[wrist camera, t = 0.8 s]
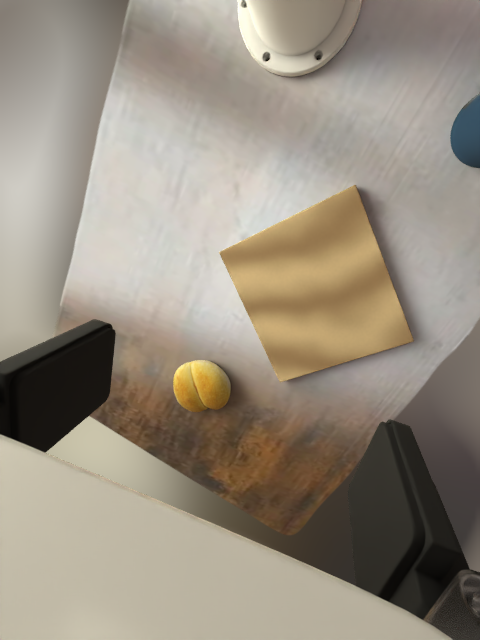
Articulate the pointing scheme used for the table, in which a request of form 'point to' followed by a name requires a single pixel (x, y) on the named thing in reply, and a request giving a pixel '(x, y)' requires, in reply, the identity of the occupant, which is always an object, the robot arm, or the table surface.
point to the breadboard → (318, 288)
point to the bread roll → (201, 386)
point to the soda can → (467, 133)
